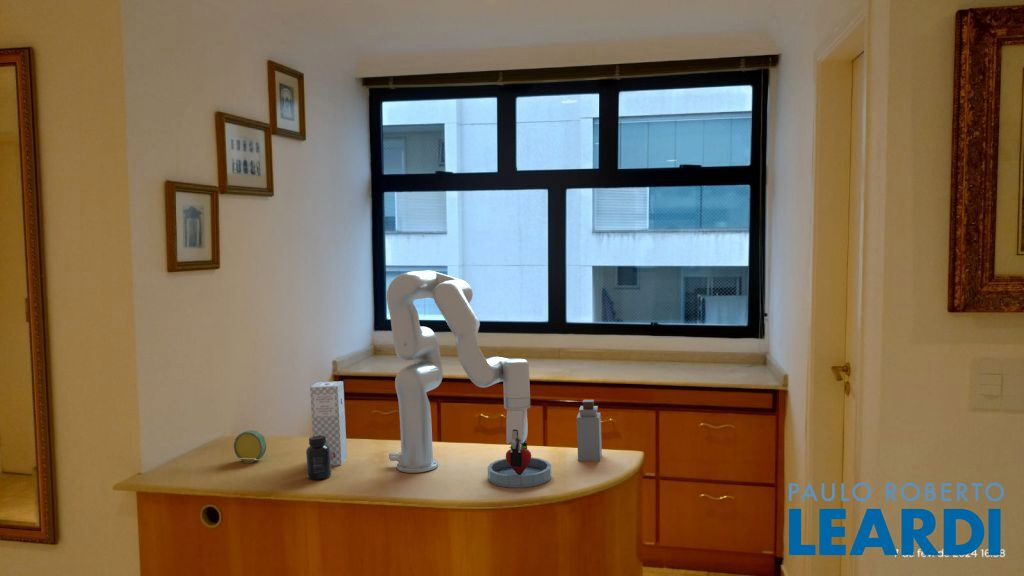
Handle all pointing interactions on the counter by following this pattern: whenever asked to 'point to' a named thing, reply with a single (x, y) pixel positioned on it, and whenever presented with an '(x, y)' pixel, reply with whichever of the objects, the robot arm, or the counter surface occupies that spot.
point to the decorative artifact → (249, 446)
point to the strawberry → (525, 460)
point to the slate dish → (530, 477)
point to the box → (330, 417)
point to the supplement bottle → (318, 458)
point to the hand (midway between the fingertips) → (519, 461)
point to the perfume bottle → (589, 432)
